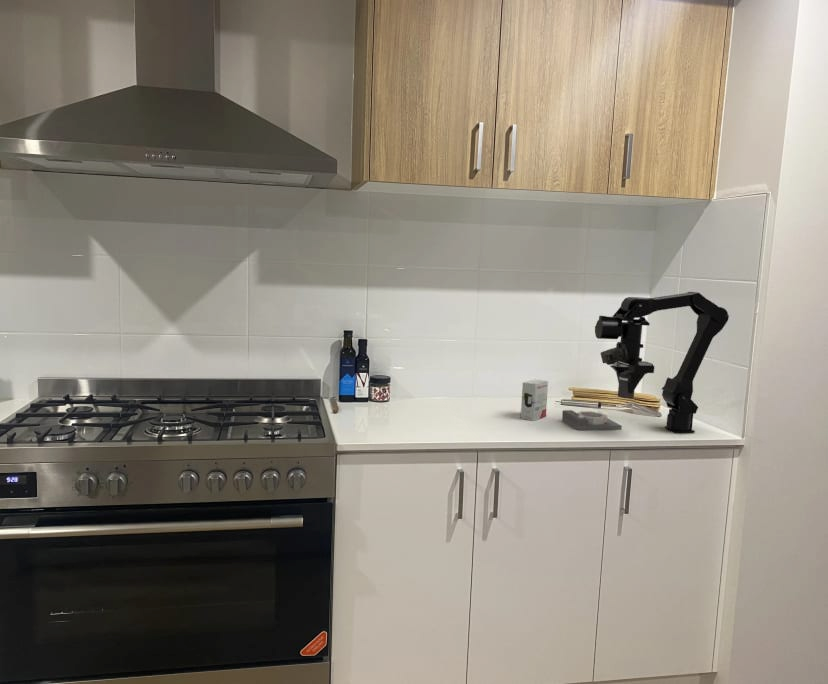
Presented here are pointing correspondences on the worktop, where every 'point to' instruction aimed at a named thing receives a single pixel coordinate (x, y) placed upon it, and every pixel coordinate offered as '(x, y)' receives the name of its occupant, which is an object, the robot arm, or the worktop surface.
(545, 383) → the ink box
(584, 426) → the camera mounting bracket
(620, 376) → the lens
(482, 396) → the worktop surface
